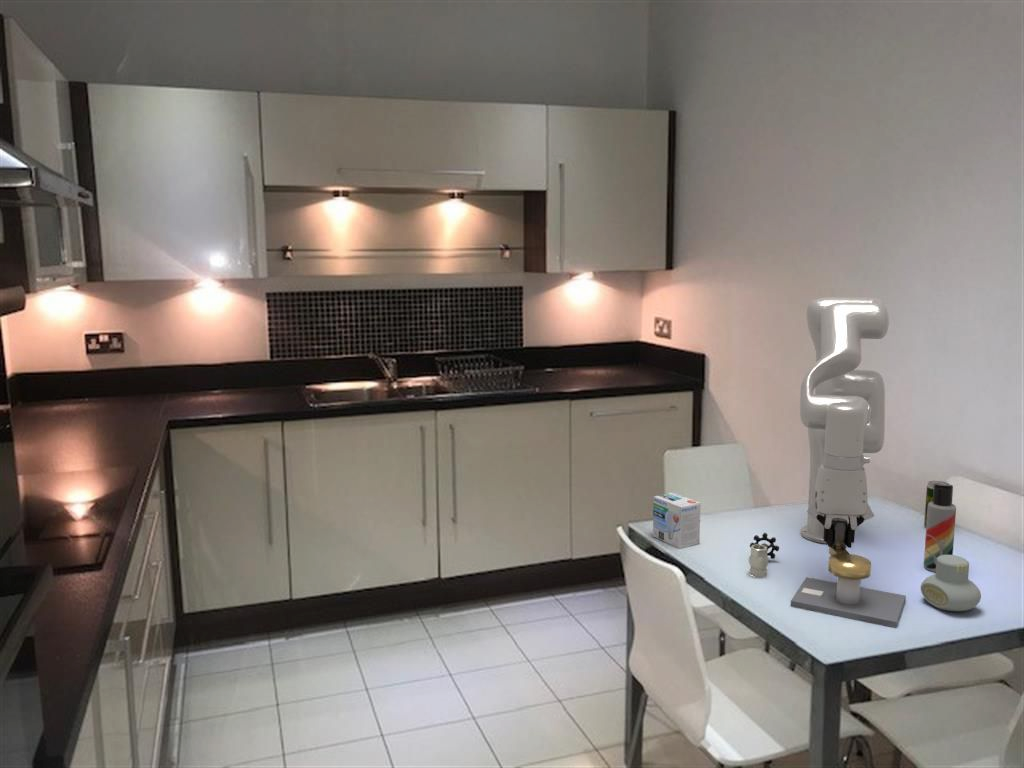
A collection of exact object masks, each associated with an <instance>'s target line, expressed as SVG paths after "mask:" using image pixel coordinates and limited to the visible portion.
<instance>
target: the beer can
mask: <svg viewBox="0 0 1024 768" xmlns="http://www.w3.org/2000/svg"><path fill="white" fill-rule="evenodd" d="M934 484H946V485H951V484H950V483H949V482H947V481H943V480H929V481H928V482H927V485H926V492H925V493H926V494H925V495H926V496H925V504H924V505H925V508H924V520H923V521H924V522H923V525H924V528H925V529H926V524H927V510H928V503H929V502H933V490H934Z"/></svg>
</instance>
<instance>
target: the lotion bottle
mask: <svg viewBox="0 0 1024 768" xmlns="http://www.w3.org/2000/svg"><path fill="white" fill-rule="evenodd" d="M953 495H954V485H952V484H950V485H946V484H934V490H933V502H929V503H928V510H927V524H926V528H925V539H924V540H925V542H924V552H923V553H924V554H923V555H924V556H923V567H924V568H925V570H927V571H929V572H932V573H936V562H937V558H938V557H939V556H941V555H953V554H954V553H953V552H954V541H955V529H956V516H957V507H956V505H955V504H953Z"/></svg>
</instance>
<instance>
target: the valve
mask: <svg viewBox="0 0 1024 768" xmlns="http://www.w3.org/2000/svg"><path fill="white" fill-rule="evenodd" d="M753 540H754V541H755V542H750V543H749V547H750V554H749V558H748V563H749V567H750V568H749V575H750V574H751V575H753V576H752V577H754V576H755V577H754V578H757V577H759V578H766V576H767V567H768V566H769V558H768V557H769V556H770V559H772V560H774V559H775V558H776V554H775V553H774V552H779V550H780V546H779V545H775V543H776V541H777V539H776V537H773V536H772V537H771V538H769V537H768V533H767V532H763V534H762V537H760V536H759V535H757V534H755V535H754V536H753ZM761 541H762V542H763V541H765V542H764V543H761V544H760V542H761ZM766 542H768V543H769V545H768V544H767V543H766ZM769 549H771V550H770V551H769ZM768 551H769V552H768ZM751 575H750V576H751Z"/></svg>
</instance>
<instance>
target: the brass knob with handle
mask: <svg viewBox="0 0 1024 768" xmlns="http://www.w3.org/2000/svg"><path fill="white" fill-rule="evenodd" d="M847 524H848V521H847V520H846V519H842V518H833V519H832V521H831V528H832V529H833V540H832V546H831V547H828V553H829V557H828V572H829V574H831V575H833V576H835V577H840V578H844V579H852V580H860V581H861V580H867V579H868V578H870V577H871V571H872V570H871V569H872V562H871V560H870V559H869V558H867V557H865V556H862V555H858V554H854V553H849V551H848V550H847V545H846V542H847Z"/></svg>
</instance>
